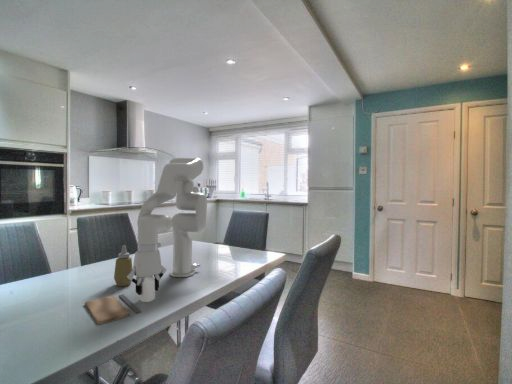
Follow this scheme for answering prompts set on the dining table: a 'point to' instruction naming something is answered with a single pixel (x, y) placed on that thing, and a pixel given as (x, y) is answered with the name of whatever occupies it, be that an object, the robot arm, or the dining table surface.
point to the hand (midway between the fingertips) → (147, 291)
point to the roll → (147, 289)
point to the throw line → (130, 303)
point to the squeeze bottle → (123, 268)
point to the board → (106, 309)
